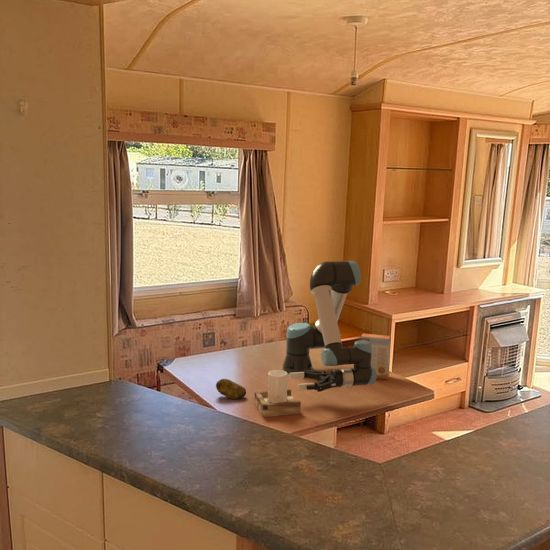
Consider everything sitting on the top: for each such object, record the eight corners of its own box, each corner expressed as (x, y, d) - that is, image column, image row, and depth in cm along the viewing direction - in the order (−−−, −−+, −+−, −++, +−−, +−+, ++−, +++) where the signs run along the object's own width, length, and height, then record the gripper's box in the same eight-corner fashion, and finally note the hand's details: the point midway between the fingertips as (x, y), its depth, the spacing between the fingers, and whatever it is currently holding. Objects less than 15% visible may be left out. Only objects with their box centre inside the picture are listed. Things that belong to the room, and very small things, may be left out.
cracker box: (389, 376, 279) (391, 335, 276) (387, 380, 274) (389, 338, 270) (361, 372, 284) (362, 332, 280) (358, 376, 278) (360, 335, 275)
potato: (239, 403, 244) (239, 385, 242) (213, 398, 249) (213, 380, 247) (247, 396, 251) (248, 379, 250) (222, 391, 256) (222, 374, 255)
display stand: (254, 402, 244) (254, 391, 243) (289, 399, 248) (290, 388, 247) (263, 417, 230) (263, 405, 229) (300, 413, 234) (300, 402, 233)
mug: (285, 407, 232) (286, 379, 230) (265, 406, 233) (265, 378, 231) (288, 396, 244) (288, 370, 242) (268, 395, 245) (269, 369, 243)
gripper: (351, 397, 233) (302, 401, 228) (330, 376, 257) (286, 379, 252) (352, 379, 232) (302, 383, 227) (331, 360, 256) (286, 363, 250)
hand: (293, 381), depth 239 cm, fingers open, 13 cm apart
